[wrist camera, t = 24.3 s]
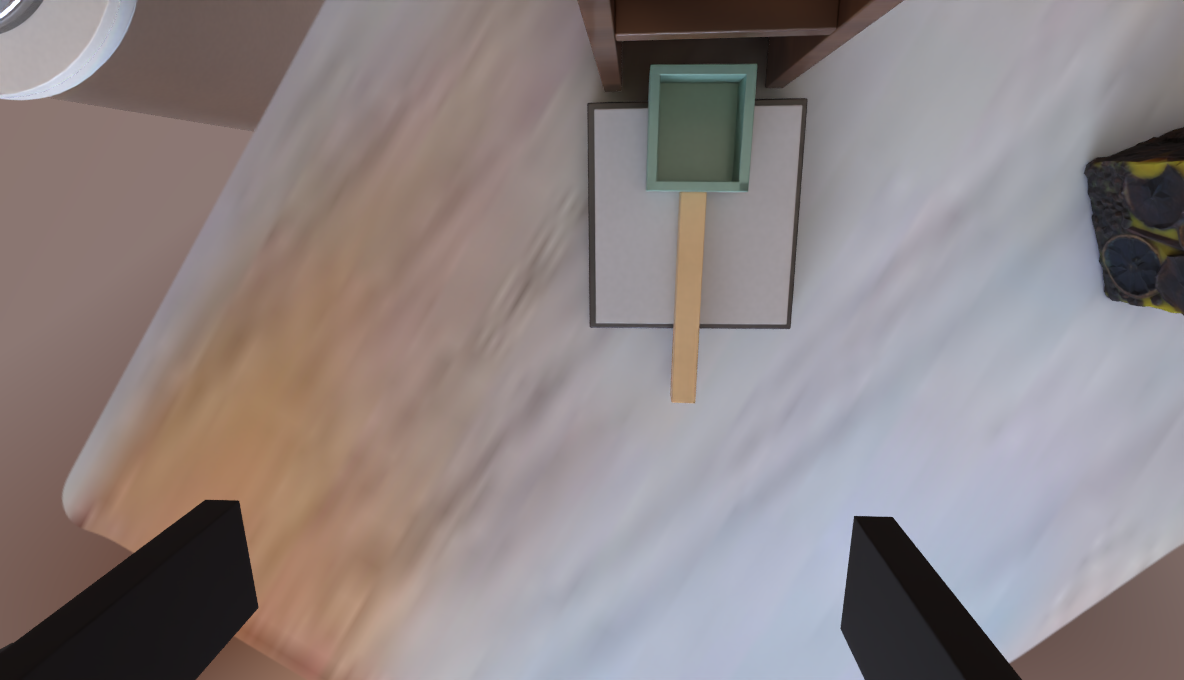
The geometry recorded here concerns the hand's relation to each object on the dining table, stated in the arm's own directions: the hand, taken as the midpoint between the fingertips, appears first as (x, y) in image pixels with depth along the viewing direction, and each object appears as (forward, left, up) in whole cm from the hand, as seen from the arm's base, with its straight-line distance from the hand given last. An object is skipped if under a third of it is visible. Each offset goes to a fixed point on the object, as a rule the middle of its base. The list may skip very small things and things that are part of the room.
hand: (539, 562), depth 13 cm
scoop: (-4, +6, -29) cm, 30 cm away
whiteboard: (-6, +6, -32) cm, 33 cm away
